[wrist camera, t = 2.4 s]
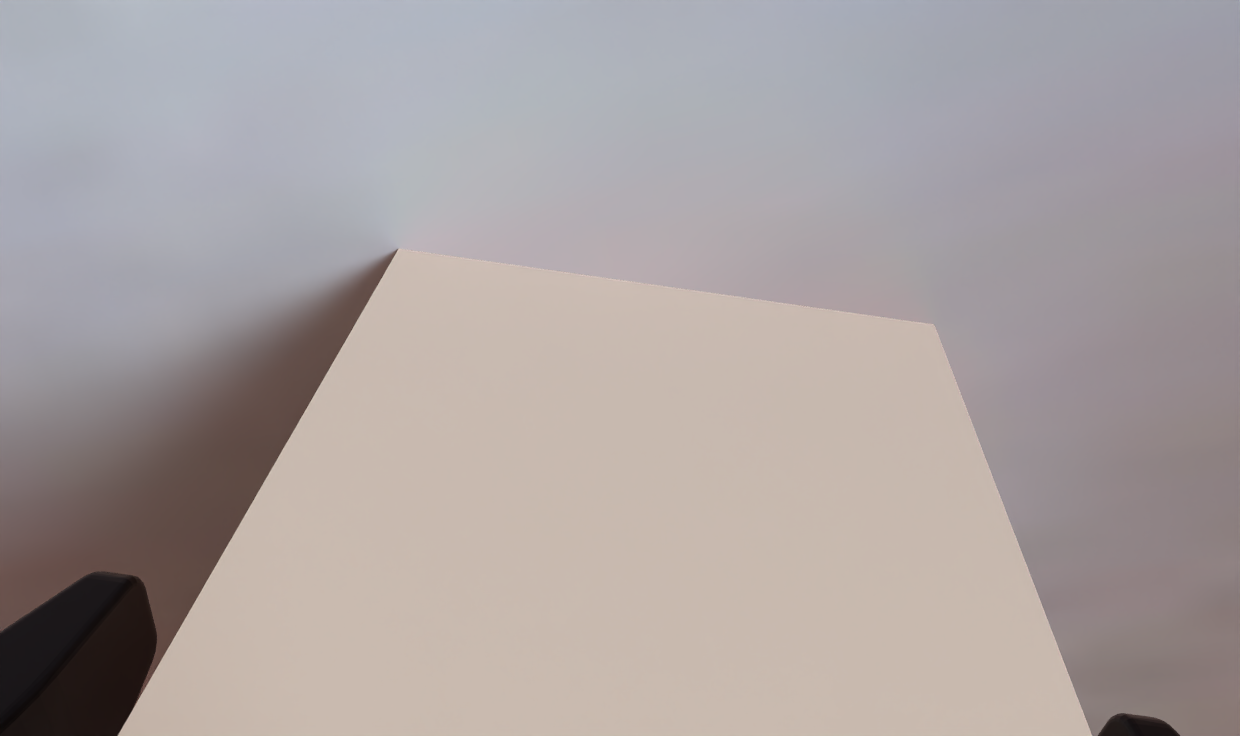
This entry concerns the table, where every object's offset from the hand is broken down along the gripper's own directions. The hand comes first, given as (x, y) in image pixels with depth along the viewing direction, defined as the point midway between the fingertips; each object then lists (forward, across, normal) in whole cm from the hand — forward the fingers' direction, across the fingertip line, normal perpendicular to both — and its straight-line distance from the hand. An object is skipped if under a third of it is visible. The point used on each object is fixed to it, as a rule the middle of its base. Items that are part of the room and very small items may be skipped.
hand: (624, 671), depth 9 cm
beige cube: (+3, 0, 0) cm, 3 cm away
